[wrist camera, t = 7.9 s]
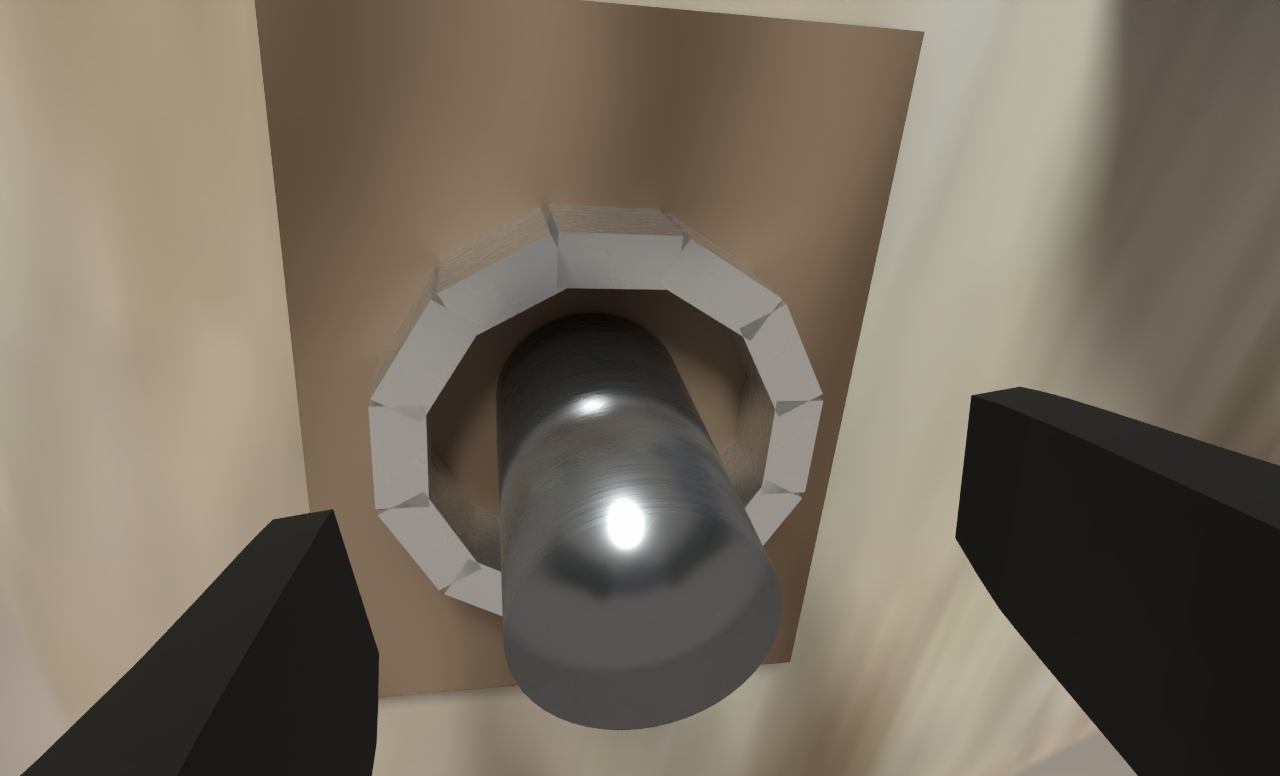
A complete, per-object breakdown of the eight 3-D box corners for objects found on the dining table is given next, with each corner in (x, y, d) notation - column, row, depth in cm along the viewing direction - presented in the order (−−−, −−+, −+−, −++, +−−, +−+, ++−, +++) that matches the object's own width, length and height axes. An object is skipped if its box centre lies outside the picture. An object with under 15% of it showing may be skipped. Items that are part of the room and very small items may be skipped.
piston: (647, 285, 17) (743, 472, 11) (701, 438, 19) (808, 671, 12) (464, 354, 17) (454, 580, 11) (537, 500, 19) (564, 763, 13)
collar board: (899, 29, 17) (982, 38, 14) (777, 636, 23) (818, 719, 21) (264, -29, 14) (218, -32, 11) (335, 670, 21) (318, 770, 18)
